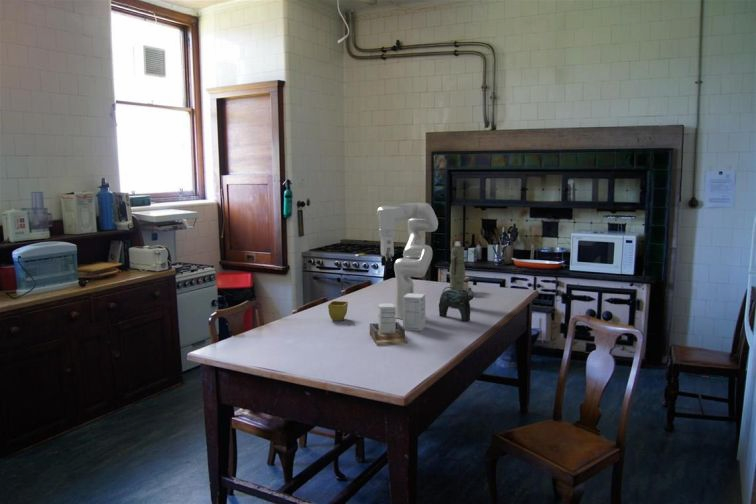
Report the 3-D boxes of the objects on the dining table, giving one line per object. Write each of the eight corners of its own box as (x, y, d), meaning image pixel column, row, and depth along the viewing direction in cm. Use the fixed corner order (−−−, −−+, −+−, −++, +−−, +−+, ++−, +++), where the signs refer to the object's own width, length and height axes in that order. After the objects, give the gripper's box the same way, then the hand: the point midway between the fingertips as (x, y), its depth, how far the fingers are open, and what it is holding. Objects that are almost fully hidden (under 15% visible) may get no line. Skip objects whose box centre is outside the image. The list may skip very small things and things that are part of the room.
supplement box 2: (425, 326, 295) (426, 294, 293) (421, 331, 286) (421, 297, 284) (407, 325, 298) (407, 292, 296) (402, 329, 289) (402, 296, 287)
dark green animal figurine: (473, 321, 307) (474, 283, 304) (466, 323, 302) (467, 285, 299) (443, 314, 320) (444, 278, 317) (436, 316, 315) (436, 280, 313)
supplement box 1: (378, 329, 279) (378, 303, 277) (393, 328, 280) (393, 303, 278) (380, 333, 272) (380, 307, 270) (395, 333, 272) (396, 306, 271)
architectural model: (479, 301, 354) (479, 278, 352) (434, 297, 365) (435, 275, 363) (491, 290, 386) (492, 269, 384) (450, 287, 397) (450, 266, 395)
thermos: (445, 308, 335) (446, 247, 330) (452, 303, 345) (453, 245, 340) (460, 309, 331) (461, 248, 326) (467, 305, 341) (468, 245, 337)
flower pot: (344, 322, 303) (343, 305, 302) (327, 321, 305) (327, 304, 304) (348, 318, 312) (348, 301, 311) (332, 317, 314) (332, 300, 312)
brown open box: (398, 333, 283) (398, 322, 283) (407, 343, 266) (407, 332, 265) (369, 334, 281) (369, 323, 280) (377, 345, 263) (377, 333, 262)
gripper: (398, 234, 281) (397, 269, 284) (390, 231, 298) (390, 264, 300) (382, 235, 280) (382, 270, 282) (375, 231, 296) (375, 264, 299)
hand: (386, 267), depth 291 cm, fingers open, 9 cm apart
